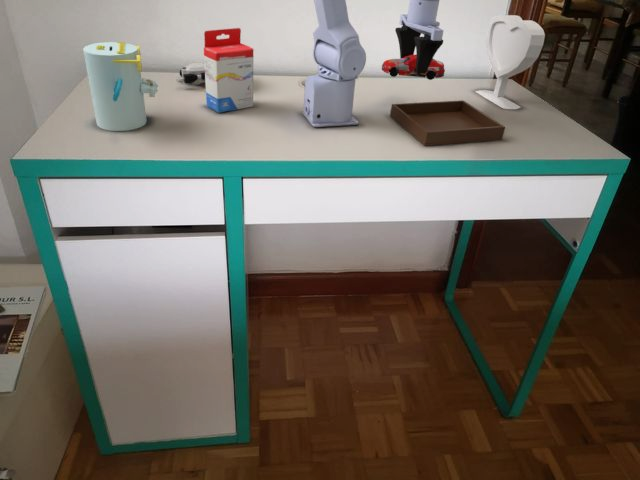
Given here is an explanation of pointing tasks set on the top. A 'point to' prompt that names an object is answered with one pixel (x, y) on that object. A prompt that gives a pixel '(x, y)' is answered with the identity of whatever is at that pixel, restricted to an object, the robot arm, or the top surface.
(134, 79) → the character sculpture
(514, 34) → the heart sculpture
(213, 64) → the ink box
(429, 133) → the tray
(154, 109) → the top surface
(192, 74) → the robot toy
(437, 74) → the race car
